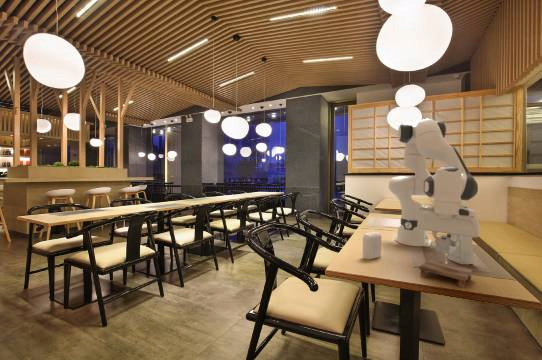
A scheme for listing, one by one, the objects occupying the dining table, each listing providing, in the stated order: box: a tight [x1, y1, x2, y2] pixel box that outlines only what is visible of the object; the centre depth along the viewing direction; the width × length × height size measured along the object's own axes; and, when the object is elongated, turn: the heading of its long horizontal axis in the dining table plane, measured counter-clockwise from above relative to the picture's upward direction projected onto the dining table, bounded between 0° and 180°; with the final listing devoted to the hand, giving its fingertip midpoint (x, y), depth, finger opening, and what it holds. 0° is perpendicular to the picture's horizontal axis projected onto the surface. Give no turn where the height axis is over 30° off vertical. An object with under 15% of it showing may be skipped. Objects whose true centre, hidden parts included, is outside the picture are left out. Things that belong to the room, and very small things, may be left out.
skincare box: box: [448, 234, 474, 265], centre depth 123 cm, size 8×6×15 cm
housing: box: [435, 233, 457, 255], centre depth 103 cm, size 4×10×6 cm, turn 133°
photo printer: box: [362, 231, 382, 260], centre depth 128 cm, size 10×4×12 cm, turn 123°
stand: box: [418, 259, 474, 289], centre depth 104 cm, size 12×15×4 cm
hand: (446, 244), depth 103 cm, fingers closed on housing, 4 cm apart
